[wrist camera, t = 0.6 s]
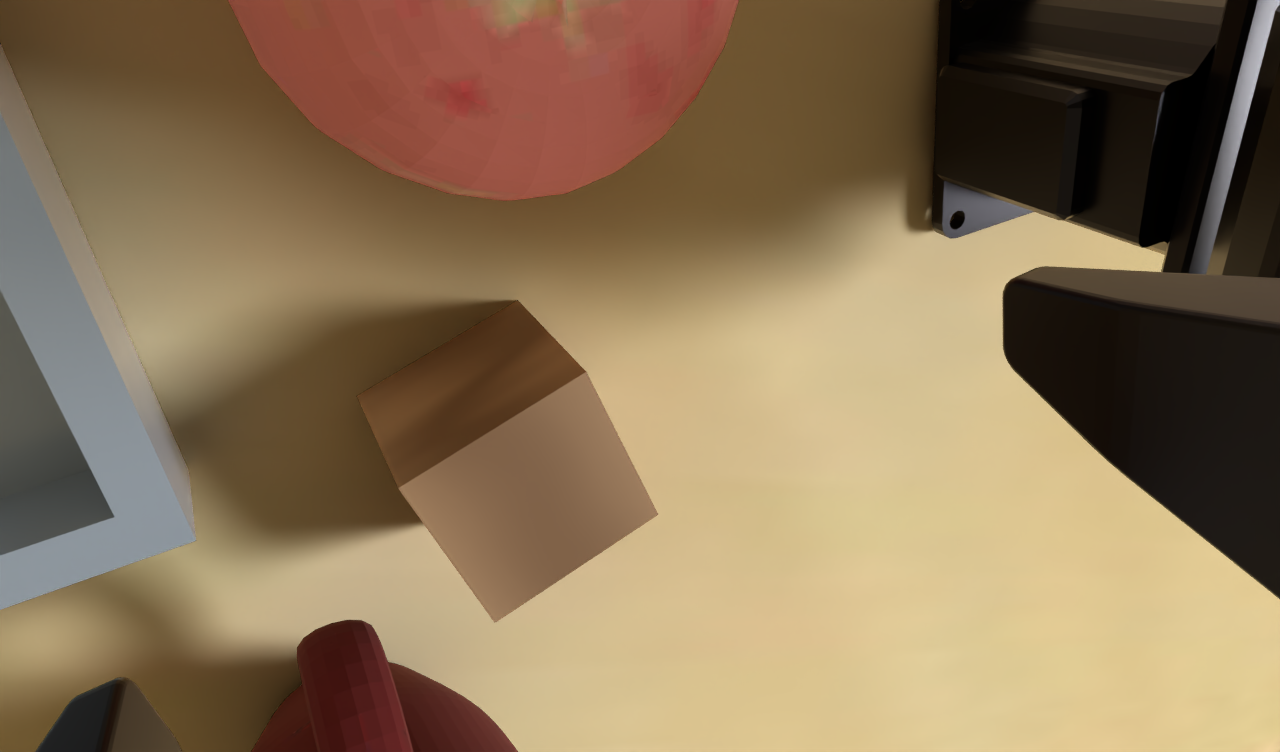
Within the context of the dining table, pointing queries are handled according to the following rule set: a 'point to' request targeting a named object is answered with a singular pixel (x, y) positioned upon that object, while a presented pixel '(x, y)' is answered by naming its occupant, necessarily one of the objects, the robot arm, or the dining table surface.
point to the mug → (372, 703)
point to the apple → (490, 82)
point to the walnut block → (507, 458)
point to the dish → (70, 393)
